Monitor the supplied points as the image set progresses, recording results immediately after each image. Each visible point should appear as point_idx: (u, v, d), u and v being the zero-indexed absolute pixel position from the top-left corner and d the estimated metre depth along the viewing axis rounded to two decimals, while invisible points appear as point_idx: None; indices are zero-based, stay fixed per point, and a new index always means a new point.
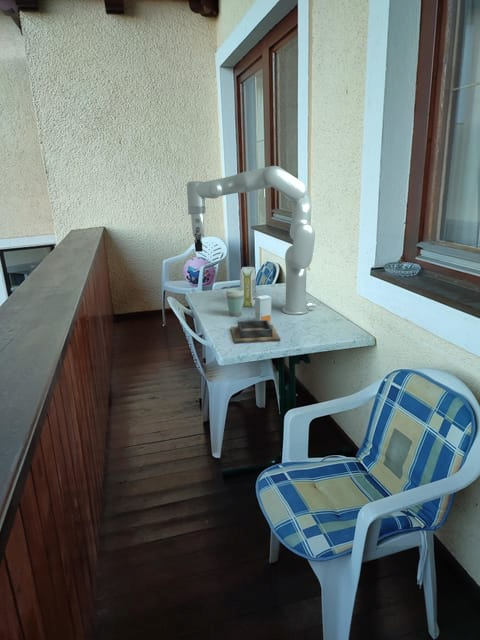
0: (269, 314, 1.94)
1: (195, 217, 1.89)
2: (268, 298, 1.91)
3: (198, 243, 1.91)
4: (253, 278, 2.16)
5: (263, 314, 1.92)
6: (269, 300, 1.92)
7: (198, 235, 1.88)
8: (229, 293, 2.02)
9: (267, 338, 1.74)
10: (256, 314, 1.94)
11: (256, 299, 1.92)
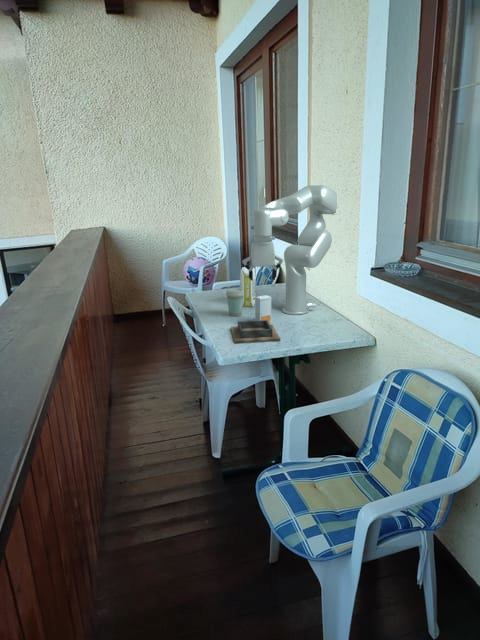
0: (269, 314, 1.94)
1: (273, 245, 1.85)
2: (268, 298, 1.91)
3: None
4: (253, 278, 2.16)
5: (263, 314, 1.92)
6: (269, 300, 1.92)
7: None
8: (229, 293, 2.02)
9: (267, 338, 1.74)
10: (256, 314, 1.94)
11: (256, 299, 1.92)
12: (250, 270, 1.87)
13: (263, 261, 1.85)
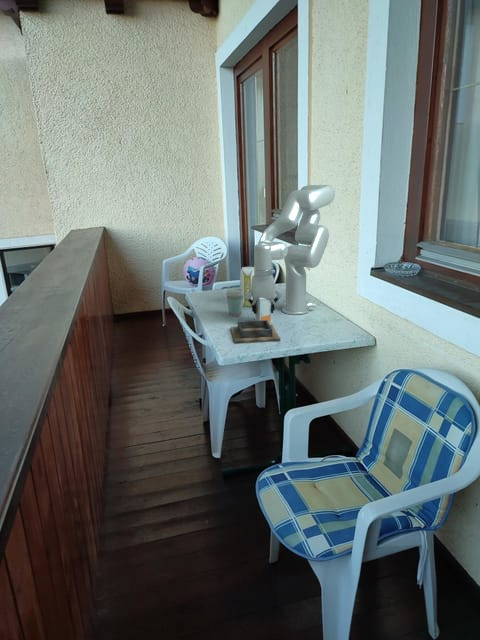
0: (269, 314, 1.94)
1: (273, 278, 1.90)
2: None
3: None
4: None
5: (263, 314, 1.92)
6: (269, 300, 1.92)
7: None
8: (229, 293, 2.02)
9: (267, 338, 1.74)
10: (256, 314, 1.94)
11: None
12: (253, 304, 1.92)
13: (264, 294, 1.90)
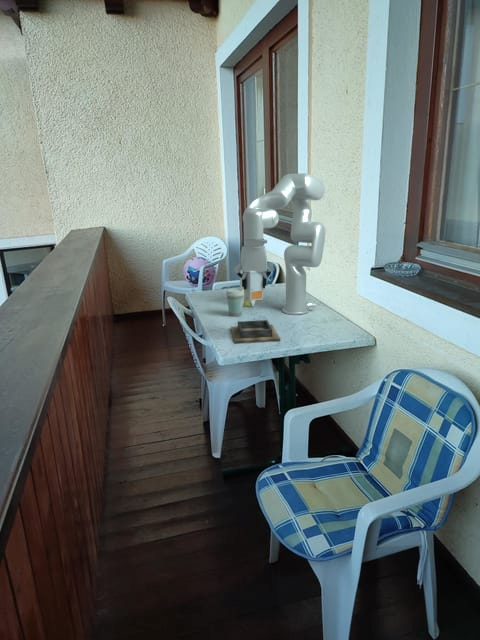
0: (261, 289, 1.75)
1: (265, 249, 1.70)
2: None
3: None
4: None
5: (254, 290, 1.73)
6: (260, 274, 1.73)
7: None
8: (229, 293, 2.02)
9: (267, 338, 1.74)
10: (246, 289, 1.75)
11: None
12: (243, 278, 1.73)
13: (254, 266, 1.70)
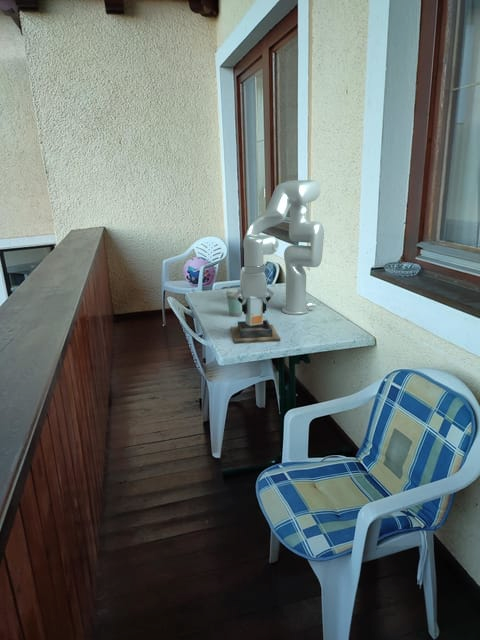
0: (261, 314, 1.77)
1: (265, 275, 1.73)
2: None
3: None
4: None
5: (254, 315, 1.76)
6: (260, 299, 1.76)
7: None
8: (229, 293, 2.02)
9: (267, 338, 1.74)
10: (246, 314, 1.78)
11: None
12: (243, 303, 1.75)
13: (255, 292, 1.73)
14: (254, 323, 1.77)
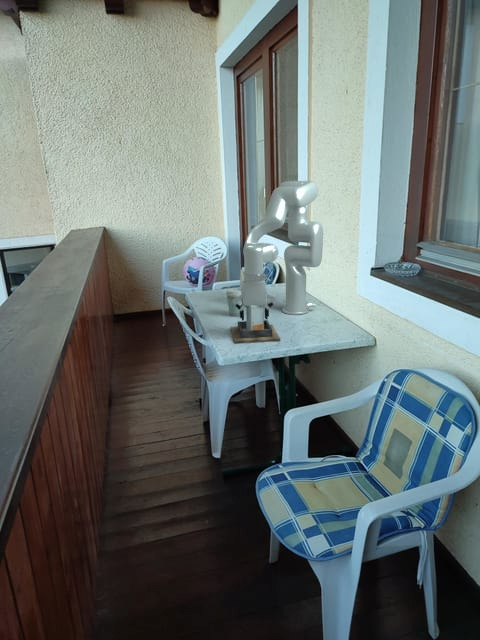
0: (261, 323, 1.79)
1: (265, 283, 1.74)
2: (260, 306, 1.76)
3: None
4: None
5: (255, 323, 1.77)
6: (261, 308, 1.77)
7: None
8: (229, 293, 2.02)
9: (267, 338, 1.74)
10: (247, 323, 1.79)
11: (247, 307, 1.77)
12: (241, 310, 1.76)
13: (255, 300, 1.74)
14: None
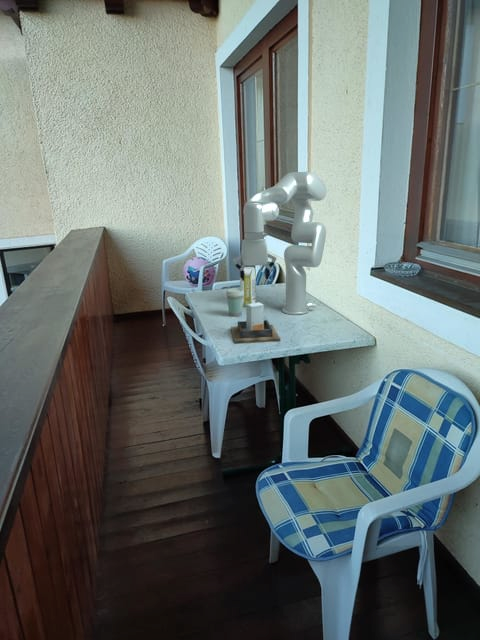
0: (261, 323, 1.79)
1: None
2: (260, 306, 1.76)
3: None
4: (253, 278, 2.16)
5: (255, 323, 1.77)
6: (261, 308, 1.77)
7: None
8: (229, 293, 2.02)
9: (267, 338, 1.74)
10: (247, 323, 1.79)
11: (247, 307, 1.77)
12: (241, 270, 1.73)
13: (255, 259, 1.71)
14: None
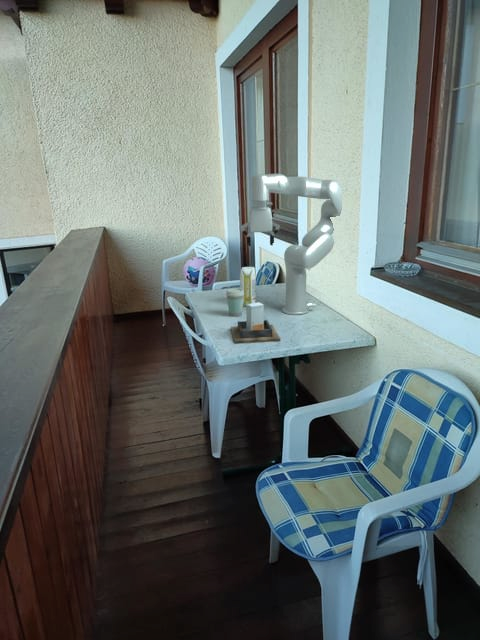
0: (261, 323, 1.79)
1: None
2: (260, 306, 1.76)
3: None
4: (253, 278, 2.16)
5: (255, 323, 1.77)
6: (261, 308, 1.77)
7: None
8: (229, 293, 2.02)
9: (267, 338, 1.74)
10: (247, 323, 1.79)
11: (247, 307, 1.77)
12: (248, 236, 1.90)
13: (261, 226, 1.88)
14: None
